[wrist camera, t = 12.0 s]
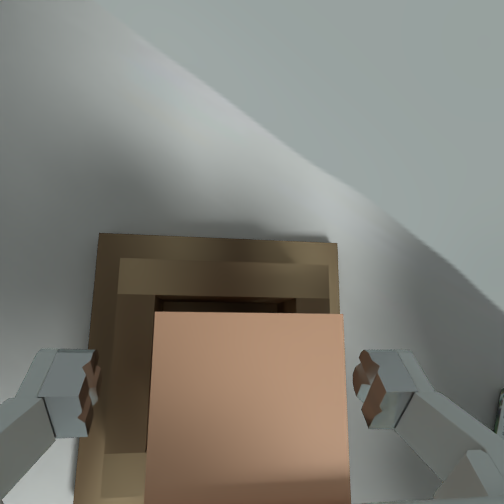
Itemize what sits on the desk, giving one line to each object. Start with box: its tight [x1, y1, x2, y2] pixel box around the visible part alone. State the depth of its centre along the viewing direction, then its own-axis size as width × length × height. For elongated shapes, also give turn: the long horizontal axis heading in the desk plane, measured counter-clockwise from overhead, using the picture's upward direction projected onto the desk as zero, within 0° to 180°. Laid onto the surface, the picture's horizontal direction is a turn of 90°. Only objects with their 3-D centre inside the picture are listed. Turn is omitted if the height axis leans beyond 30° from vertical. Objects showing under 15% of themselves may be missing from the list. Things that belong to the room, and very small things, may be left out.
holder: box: [73, 233, 340, 504], centre depth 18 cm, size 13×13×5 cm
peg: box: [144, 312, 351, 504], centre depth 13 cm, size 4×4×12 cm
